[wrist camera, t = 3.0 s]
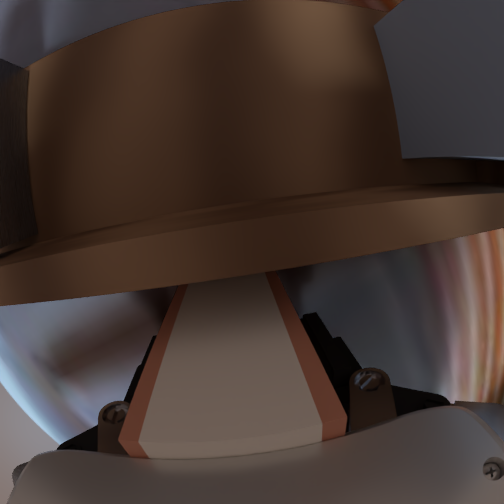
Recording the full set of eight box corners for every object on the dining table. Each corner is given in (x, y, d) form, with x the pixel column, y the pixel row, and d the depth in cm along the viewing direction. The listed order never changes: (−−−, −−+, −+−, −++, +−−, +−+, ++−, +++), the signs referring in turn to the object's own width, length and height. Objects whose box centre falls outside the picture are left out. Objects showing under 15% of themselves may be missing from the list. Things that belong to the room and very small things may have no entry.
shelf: (444, 42, 10) (522, 10, 3) (472, 200, 13) (565, 221, 6) (2, 97, 9) (-82, 80, 2) (20, 267, 12) (-66, 319, 5)
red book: (271, 262, 13) (348, 416, 4) (284, 376, 14) (326, 524, 6) (182, 275, 12) (116, 440, 4) (211, 386, 14) (206, 539, 5)
